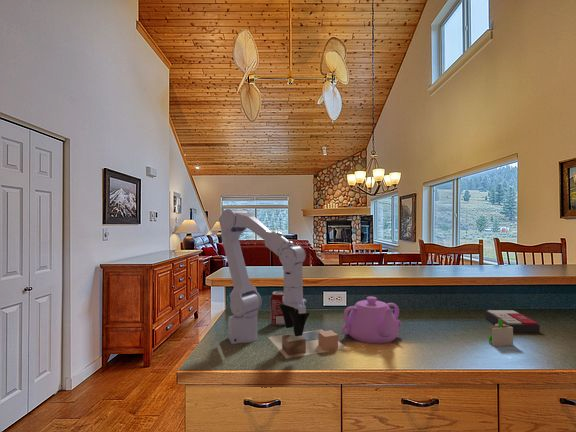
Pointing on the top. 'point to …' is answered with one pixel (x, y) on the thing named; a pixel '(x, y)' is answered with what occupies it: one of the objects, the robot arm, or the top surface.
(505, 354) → the top surface
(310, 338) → the beige flat square
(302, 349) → the walnut block
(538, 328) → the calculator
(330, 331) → the terracotta block
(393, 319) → the teapot
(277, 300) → the soda can
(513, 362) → the top surface
